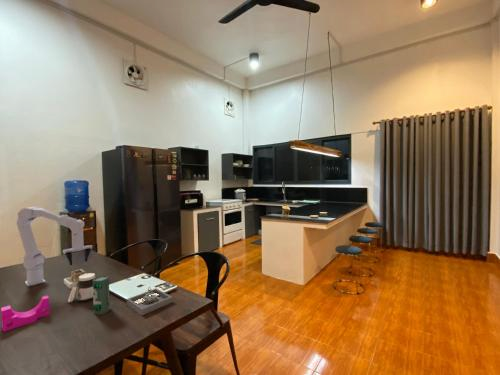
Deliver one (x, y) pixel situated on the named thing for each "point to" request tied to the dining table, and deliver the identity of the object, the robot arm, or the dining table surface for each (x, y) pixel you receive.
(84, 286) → the spread jar
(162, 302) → the grey square tray
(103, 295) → the can
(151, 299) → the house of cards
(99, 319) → the dining table surface
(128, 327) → the dining table surface
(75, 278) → the pine crate
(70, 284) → the white square tray
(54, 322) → the dining table surface
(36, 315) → the magenta saddle bracket
